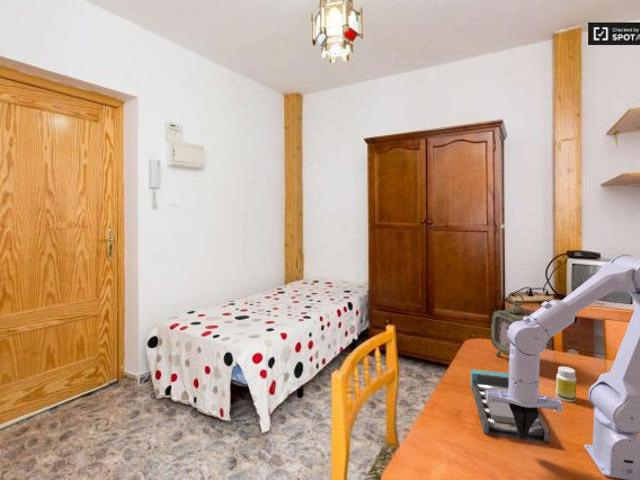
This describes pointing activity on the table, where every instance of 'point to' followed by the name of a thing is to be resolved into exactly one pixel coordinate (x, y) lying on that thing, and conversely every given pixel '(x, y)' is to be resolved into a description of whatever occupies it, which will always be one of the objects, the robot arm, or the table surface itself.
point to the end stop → (490, 378)
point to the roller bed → (504, 434)
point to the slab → (503, 412)
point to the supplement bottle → (566, 384)
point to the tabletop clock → (505, 325)
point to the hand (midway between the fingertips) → (521, 436)
